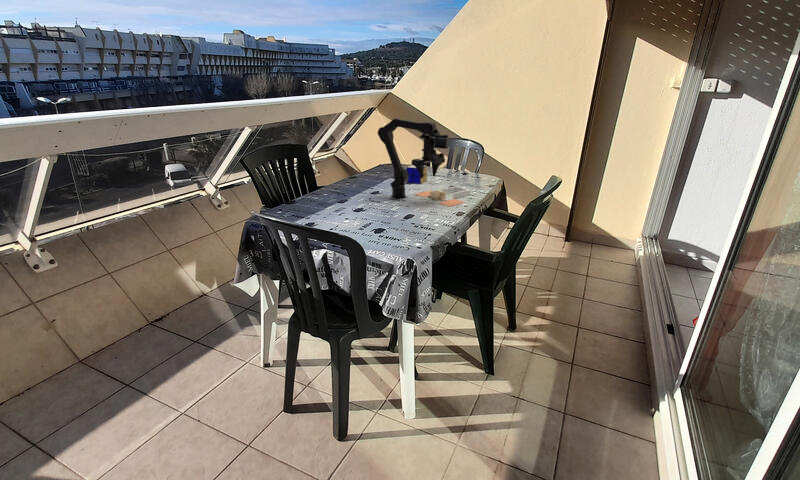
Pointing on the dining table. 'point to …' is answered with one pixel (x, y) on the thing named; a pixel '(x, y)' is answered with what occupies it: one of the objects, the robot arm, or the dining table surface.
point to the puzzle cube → (416, 175)
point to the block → (437, 195)
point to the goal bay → (457, 191)
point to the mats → (446, 203)
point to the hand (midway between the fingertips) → (428, 177)
